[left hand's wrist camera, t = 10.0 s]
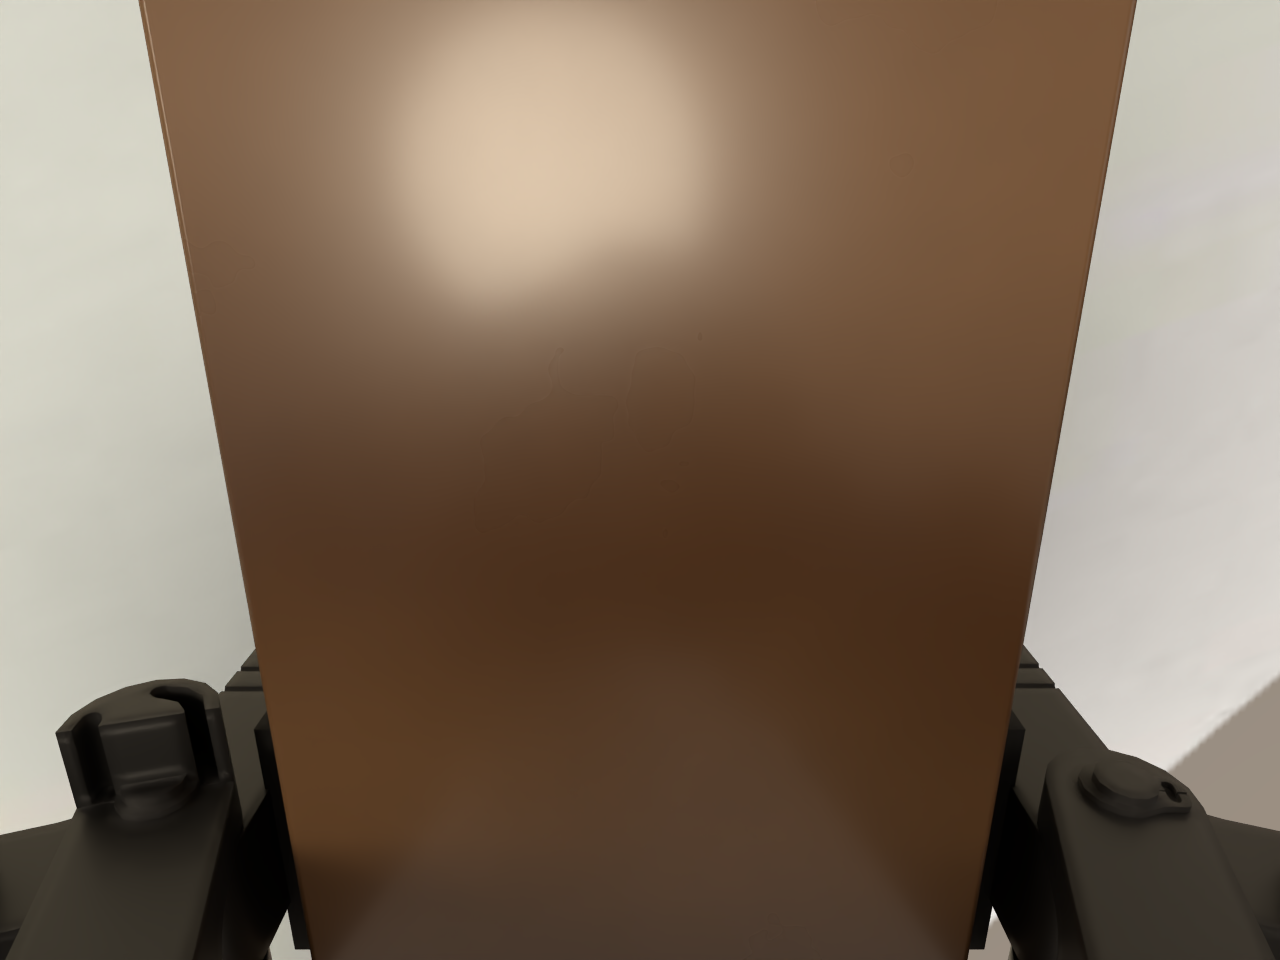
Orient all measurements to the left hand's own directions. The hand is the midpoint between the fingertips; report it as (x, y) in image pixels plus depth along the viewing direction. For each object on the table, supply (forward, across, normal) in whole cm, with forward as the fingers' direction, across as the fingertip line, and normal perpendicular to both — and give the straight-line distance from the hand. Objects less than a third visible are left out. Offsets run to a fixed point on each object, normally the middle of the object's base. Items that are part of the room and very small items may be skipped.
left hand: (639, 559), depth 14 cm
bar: (+1, 0, -31) cm, 31 cm away
